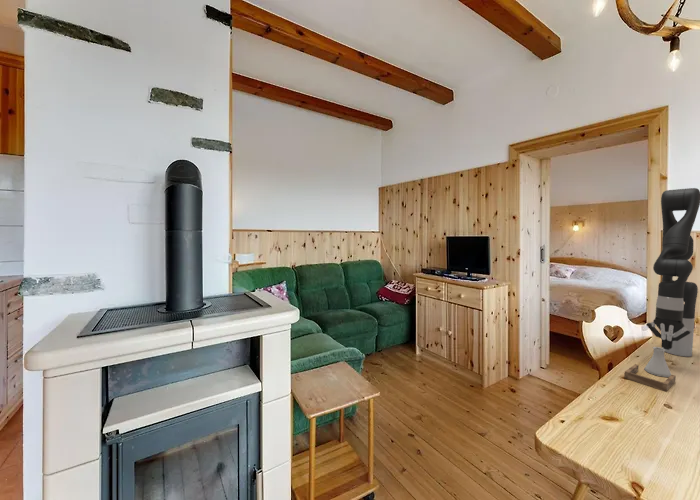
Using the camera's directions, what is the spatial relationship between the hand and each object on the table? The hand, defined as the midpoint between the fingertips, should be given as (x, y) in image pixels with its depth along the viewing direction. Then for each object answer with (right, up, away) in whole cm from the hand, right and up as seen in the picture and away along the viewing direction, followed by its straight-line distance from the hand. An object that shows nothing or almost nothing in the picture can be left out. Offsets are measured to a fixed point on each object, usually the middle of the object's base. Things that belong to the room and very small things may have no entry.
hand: (666, 348), depth 119 cm
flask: (-9, -8, -5) cm, 13 cm away
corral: (-18, -8, -11) cm, 23 cm away
